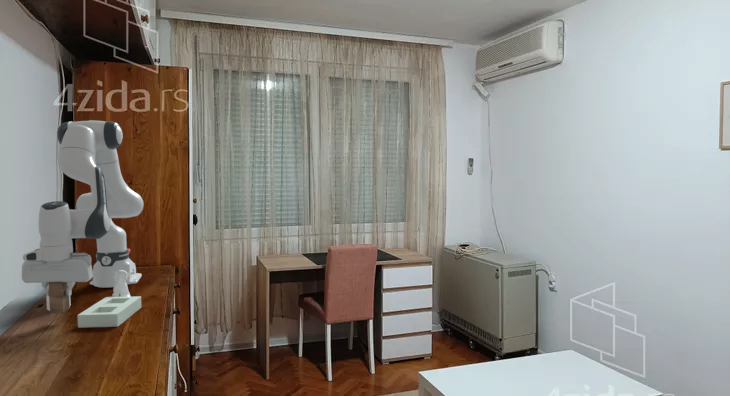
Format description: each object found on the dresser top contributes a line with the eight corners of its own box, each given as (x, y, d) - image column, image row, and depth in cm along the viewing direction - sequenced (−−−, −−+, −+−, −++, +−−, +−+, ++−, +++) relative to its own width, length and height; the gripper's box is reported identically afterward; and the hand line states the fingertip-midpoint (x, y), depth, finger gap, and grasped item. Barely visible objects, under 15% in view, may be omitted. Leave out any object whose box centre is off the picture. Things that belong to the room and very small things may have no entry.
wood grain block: (56, 309, 158) (55, 279, 157) (69, 308, 158) (68, 278, 157) (50, 313, 154) (48, 282, 153) (63, 312, 154) (61, 282, 153)
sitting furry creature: (103, 306, 173) (101, 273, 172) (109, 300, 182) (107, 268, 181) (132, 304, 176) (131, 272, 175) (136, 298, 184) (135, 267, 183)
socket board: (106, 308, 172) (105, 297, 171) (141, 307, 173) (141, 296, 172) (78, 327, 152) (77, 315, 151) (117, 326, 153) (117, 314, 152)
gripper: (95, 250, 158) (97, 291, 160) (29, 251, 157) (32, 293, 158) (86, 254, 152) (88, 297, 153) (17, 255, 150) (20, 299, 152)
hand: (59, 295), depth 156 cm, fingers closed on wood grain block, 4 cm apart
